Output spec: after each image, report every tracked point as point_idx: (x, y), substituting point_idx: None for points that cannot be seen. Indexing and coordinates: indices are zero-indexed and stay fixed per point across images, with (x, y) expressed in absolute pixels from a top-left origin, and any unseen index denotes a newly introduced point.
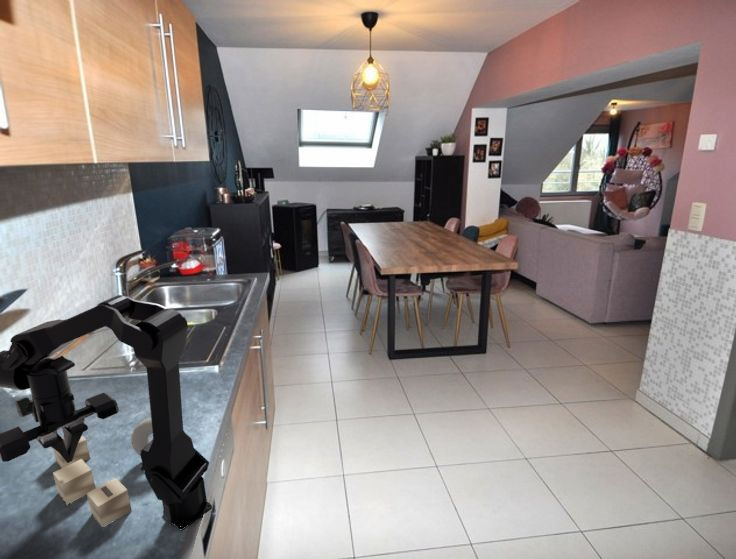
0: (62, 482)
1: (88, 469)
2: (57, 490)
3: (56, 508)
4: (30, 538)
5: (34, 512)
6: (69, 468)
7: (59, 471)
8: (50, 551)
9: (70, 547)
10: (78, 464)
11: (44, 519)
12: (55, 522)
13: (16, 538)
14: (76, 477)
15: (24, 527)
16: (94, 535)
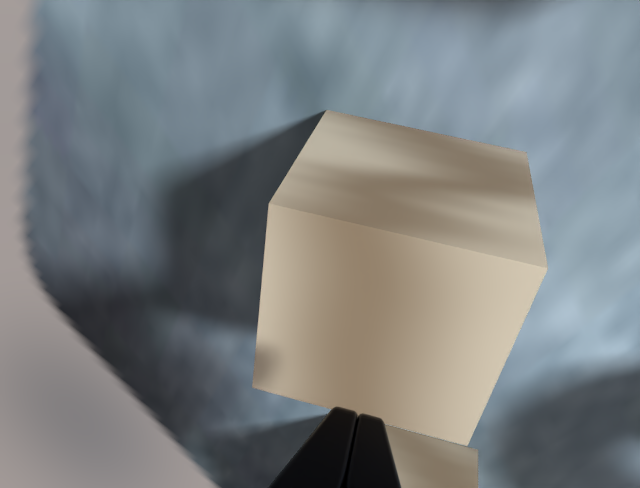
0: (263, 374)
1: (458, 428)
2: (320, 120)
3: (256, 230)
4: (107, 292)
5: (163, 142)
6: (389, 286)
7: (314, 243)
8: (148, 409)
9: (204, 452)
10: (468, 310)
11: (185, 245)
12: (214, 309)
13: (59, 236)
14: None
15: (99, 203)
16: None
